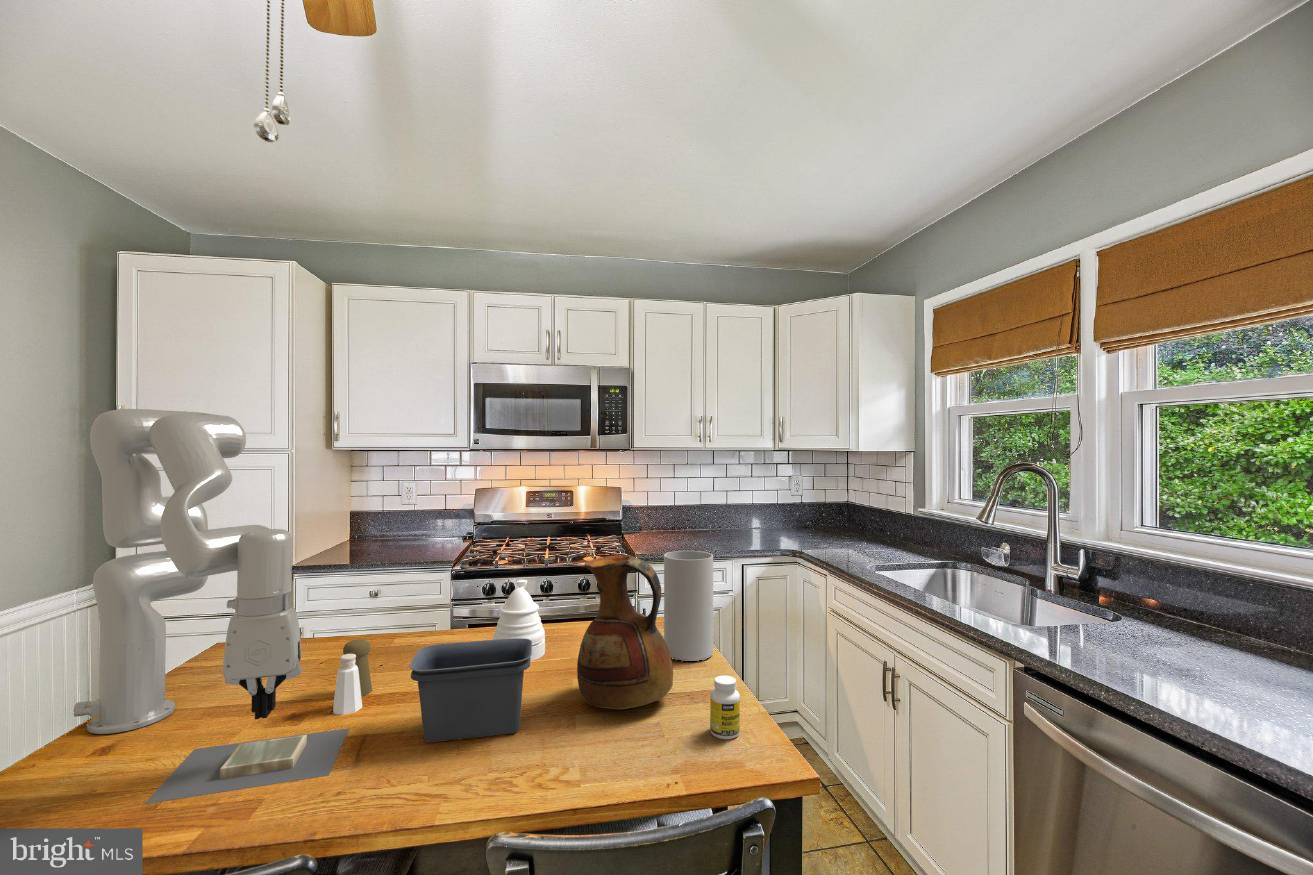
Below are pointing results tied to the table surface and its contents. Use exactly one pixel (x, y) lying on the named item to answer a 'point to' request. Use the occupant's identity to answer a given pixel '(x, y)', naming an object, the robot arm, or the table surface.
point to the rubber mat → (204, 775)
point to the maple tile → (264, 756)
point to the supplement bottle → (725, 708)
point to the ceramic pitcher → (623, 642)
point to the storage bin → (471, 687)
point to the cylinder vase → (688, 604)
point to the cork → (361, 662)
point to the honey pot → (521, 620)
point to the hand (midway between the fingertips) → (263, 715)
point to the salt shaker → (347, 687)
